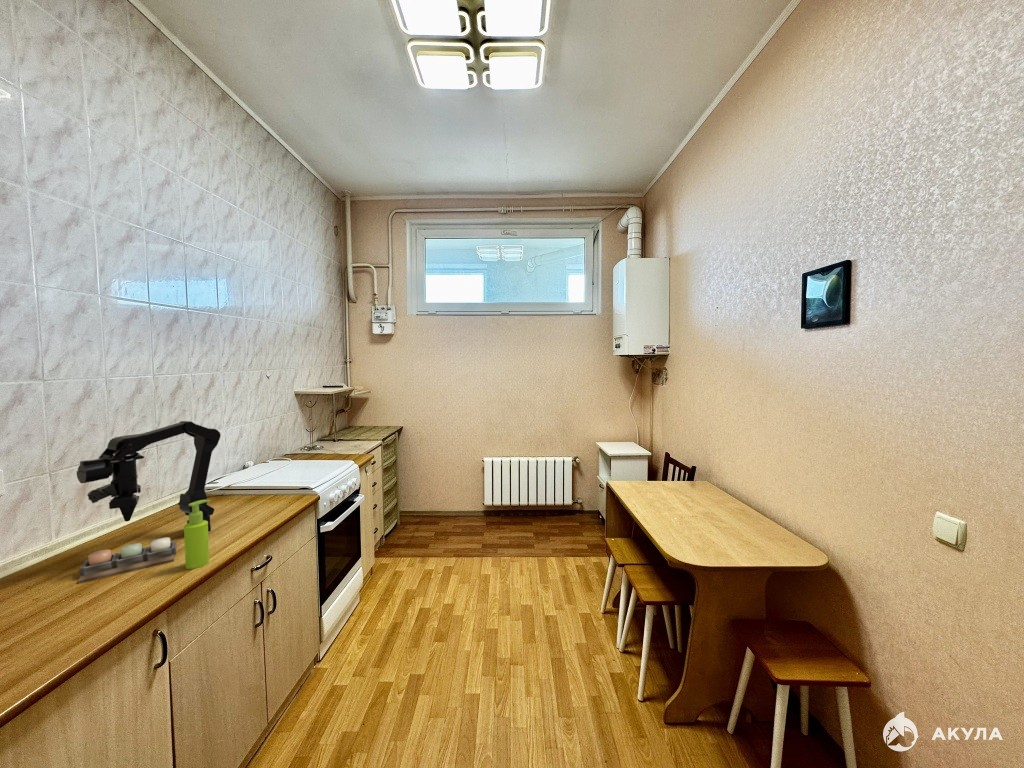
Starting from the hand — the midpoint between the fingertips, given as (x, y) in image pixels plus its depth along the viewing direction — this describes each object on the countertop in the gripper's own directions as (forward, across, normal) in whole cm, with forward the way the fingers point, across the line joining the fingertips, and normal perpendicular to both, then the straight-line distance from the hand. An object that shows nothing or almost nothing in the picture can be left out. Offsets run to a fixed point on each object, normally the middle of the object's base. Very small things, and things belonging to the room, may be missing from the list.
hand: (127, 521), depth 129 cm
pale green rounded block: (+10, +8, +1) cm, 13 cm away
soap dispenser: (+12, +22, +18) cm, 31 cm away
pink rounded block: (+10, +7, -6) cm, 14 cm away
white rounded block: (+11, +8, +8) cm, 15 cm away
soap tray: (+12, +8, +1) cm, 14 cm away
